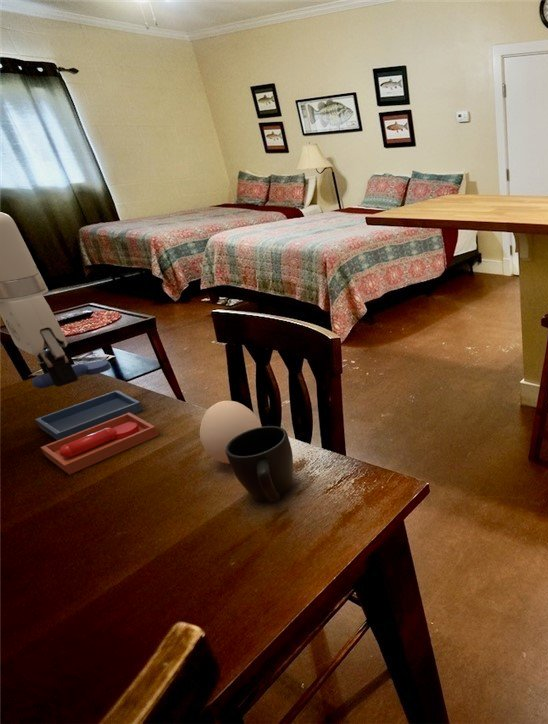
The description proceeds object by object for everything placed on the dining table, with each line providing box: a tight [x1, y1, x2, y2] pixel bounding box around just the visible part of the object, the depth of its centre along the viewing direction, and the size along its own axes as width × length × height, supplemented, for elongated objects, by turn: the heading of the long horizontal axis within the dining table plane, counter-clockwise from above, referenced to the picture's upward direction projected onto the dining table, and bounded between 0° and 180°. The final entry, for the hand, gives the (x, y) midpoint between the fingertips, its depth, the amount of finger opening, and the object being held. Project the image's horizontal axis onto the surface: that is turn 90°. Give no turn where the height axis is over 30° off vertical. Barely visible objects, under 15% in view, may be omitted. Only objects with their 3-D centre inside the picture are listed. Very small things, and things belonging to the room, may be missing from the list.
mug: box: [225, 425, 294, 503], centre depth 72 cm, size 8×12×10 cm
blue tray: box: [34, 389, 144, 441], centre depth 94 cm, size 13×10×2 cm
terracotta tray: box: [40, 413, 159, 476], centre depth 86 cm, size 13×10×2 cm
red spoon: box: [59, 422, 140, 458], centre depth 85 cm, size 11×4×2 cm, turn 150°
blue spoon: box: [31, 359, 112, 389], centre depth 90 cm, size 11×4×2 cm, turn 150°
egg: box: [199, 400, 262, 464], centre depth 80 cm, size 9×9×11 cm
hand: (63, 380), depth 89 cm, fingers closed on blue spoon, 2 cm apart
